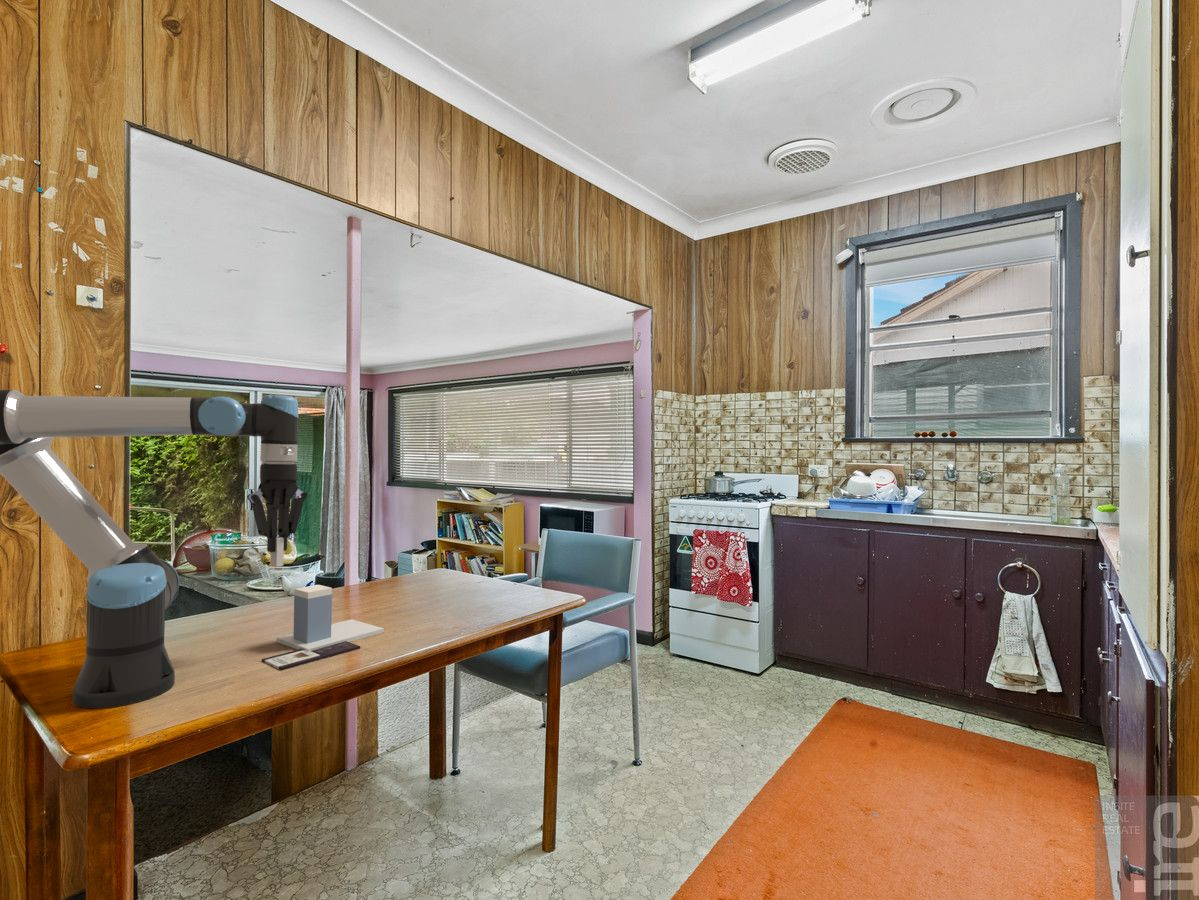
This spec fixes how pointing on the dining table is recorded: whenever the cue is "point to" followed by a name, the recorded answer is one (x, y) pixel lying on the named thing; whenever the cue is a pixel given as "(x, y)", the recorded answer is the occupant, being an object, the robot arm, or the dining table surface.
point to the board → (335, 635)
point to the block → (312, 613)
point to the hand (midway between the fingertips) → (276, 565)
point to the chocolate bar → (308, 655)
